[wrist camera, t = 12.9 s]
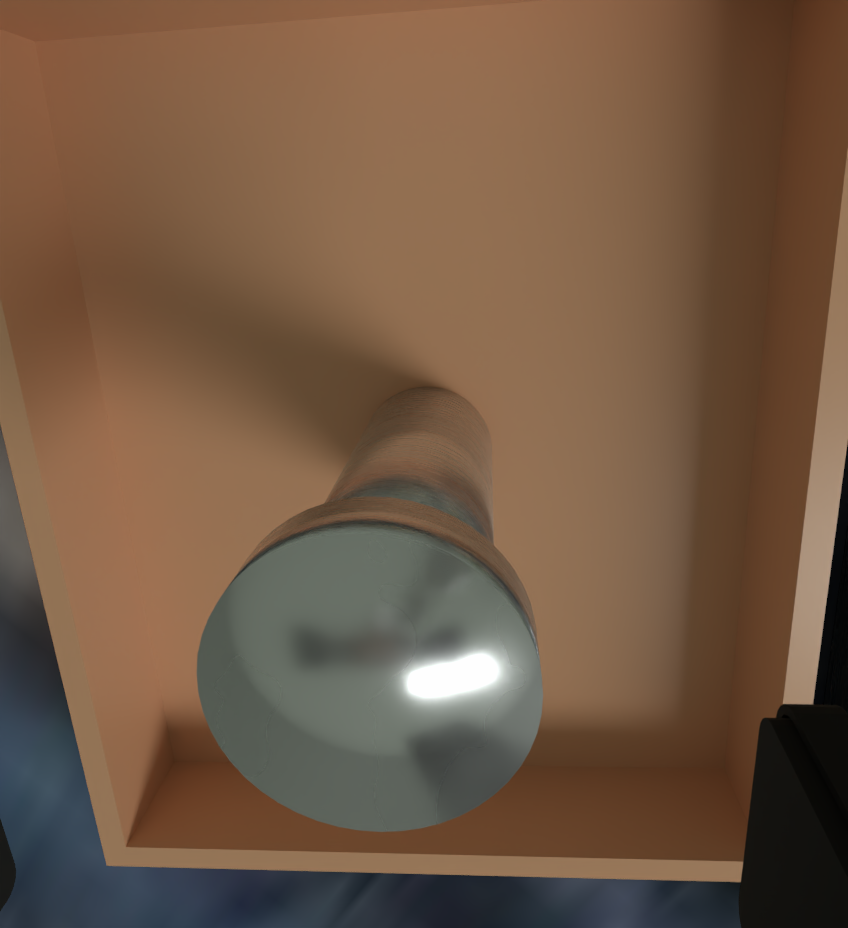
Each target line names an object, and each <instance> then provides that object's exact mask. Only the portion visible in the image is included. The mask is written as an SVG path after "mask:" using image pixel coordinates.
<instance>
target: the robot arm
mask: <svg viewBox="0 0 848 928" xmlns="http://www.w3.org/2000/svg"><path fill="white" fill-rule="evenodd" d="M15 878H16V868H15V863H14V860H13V857H12V854H11V851H10V848H9V844H8V841H7V838H6V835H5V832H4V829H3V826H2V823H1V820H0V911H1V909H2V908H3V906H4V905H5V903H6V902H7V900H8V898H9V897H10V895H11V892H12V889H13V887H14V883H15ZM739 915H740V922H741V928H848V714H847V713H846V712H845V711H844V709H843V708H842V707H840V706H838V705H817V704H783V705H780V707H779V709H778V711H777V715H776V718H763V719H762V721H761V723H760V727H759V735H758V743H757V751H756V760H755V768H754V776H753V785H752V793H751V801H750V810H749V818H748V826H747V835H746V843H745V851H744V860H743V868H742V876H741V885H740V893H739Z"/></svg>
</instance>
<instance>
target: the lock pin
mask: <svg viewBox="0 0 848 928" xmlns="http://www.w3.org/2000/svg"><path fill="white" fill-rule="evenodd" d="M197 684H198V694H199V698H200V702H201V706H202V710H203V713H204V716H205V718H206V721H207V723H208V726H209V728H210V730H211V732H212V734H213V736H214V738H215V739H216V741H217V743H218V745H219V747H220V748H221V749H222V751H223V752H224V753H225V755H226V756H227V758H228V759H229V760H230V762H231V763H232V764H233V765H234V766H235V767H236V768H237V769H238V770H239V772H240V773H241V774H242V775H243V776H244V777H245V778H246V779H247V780H249V781H250V782H251V783H252V784H253V785H254V786H256V787H257V788H258V789H259V790H260V791H262V792H263V793H265V794H266V795H268V796H269V797H270V798H272V799H273V800H275V801H276V802H278V803H280V804H281V805H283V806H285V807H287V808H289V809H291V810H293V811H295V812H297V813H299V814H301V815H304V816H306V817H309V818H311V819H314V820H316V821H320V822H323V823H327V824H330V825H333V826H337V827H342V828H348V829H354V830H361V831H374V832H393V831H406V830H413V829H420V828H424V827H428V826H432V825H436V824H440V823H443V822H446V821H448V820H451V819H454V818H456V817H459V816H461V815H463V814H465V813H467V812H469V811H470V810H472V809H474V808H476V807H478V806H479V805H481V804H482V803H484V802H485V801H486V800H488V799H489V798H491V797H492V796H494V795H495V794H496V793H497V792H498V791H499V790H500V789H501V788H502V787H503V786H504V785H506V784H507V783H508V782H509V780H510V779H511V778H512V777H513V775H514V774H515V773H516V772H517V771H518V769H519V768H520V767H521V765H522V763H523V762H524V760H525V758H526V757H527V755H528V753H529V752H530V750H531V747H532V745H533V742H534V740H535V737H536V735H537V732H538V728H539V724H540V719H541V715H542V703H543V687H542V674H541V666H540V657H539V649H538V640H537V631H536V623H535V619H534V614H533V610H532V606H531V603H530V600H529V598H528V595H527V593H526V590H525V588H524V586H523V584H522V582H521V580H520V579H519V577H518V575H517V573H516V572H515V570H514V569H513V567H512V566H511V565H510V563H509V562H508V561H507V559H506V558H505V557H504V555H503V554H502V553H501V552H500V551H499V550H498V549H497V548H496V547H495V546H494V528H493V477H492V443H491V437H490V432H489V430H488V427H487V424H486V422H485V421H484V419H483V417H482V416H481V414H480V413H479V411H478V410H477V409H476V408H475V407H474V406H473V405H472V404H471V403H470V402H469V401H467V400H466V399H465V398H463V397H462V396H460V395H458V394H456V393H454V392H452V391H449V390H446V389H443V388H438V387H425V386H424V387H415V388H411V389H407V390H404V391H401V392H399V393H397V394H395V395H393V396H392V397H390V398H389V399H387V400H386V401H385V402H384V403H383V404H382V405H381V406H380V407H379V408H378V409H377V410H376V412H375V413H374V414H373V416H372V418H371V419H370V421H369V423H368V425H367V427H366V428H365V430H364V432H363V434H362V436H361V438H360V439H359V441H358V443H357V445H356V447H355V448H354V450H353V452H352V454H351V456H350V457H349V459H348V461H347V463H346V465H345V467H344V468H343V470H342V472H341V474H340V476H339V477H338V479H337V481H336V483H335V485H334V487H333V488H332V490H331V492H330V494H329V496H328V497H327V499H326V501H325V503H324V504H321V505H318V506H315V507H312V508H310V509H307V510H305V511H303V512H301V513H299V514H297V515H295V516H293V517H291V518H289V519H288V520H286V521H285V522H284V523H282V524H281V525H279V526H278V527H276V528H275V529H274V530H273V531H271V532H270V533H269V534H268V535H267V536H266V537H265V538H264V539H263V540H262V541H261V542H260V543H259V544H258V545H257V546H256V548H255V549H254V550H253V552H252V553H251V554H250V555H249V557H248V558H247V559H246V561H245V562H244V564H243V565H242V567H241V568H240V570H239V571H238V573H237V574H236V575H235V577H234V578H233V580H232V581H231V583H230V584H229V586H228V587H227V589H226V590H225V592H224V593H223V594H222V596H221V597H220V599H219V600H218V602H217V604H216V606H215V607H214V609H213V611H212V613H211V614H210V616H209V618H208V620H207V623H206V626H205V628H204V631H203V633H202V636H201V641H200V646H199V650H198V656H197Z"/></svg>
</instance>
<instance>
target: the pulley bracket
mask: <svg viewBox="0 0 848 928" xmlns="http://www.w3.org/2000/svg"><path fill="white" fill-rule="evenodd" d="M823 705H838V706H840V707H842V708H843V709H844V711H845V712H846V713H847V714H848V528H847V536H846V543H845V550H844V558H843V565H842V572H841V579H840V587H839V594H838V601H837V609H836V616H835V623H834V631H833V638H832V645H831V652H830V660H829V667H828V674H827V682H826V689H825V696H824V703H823Z"/></svg>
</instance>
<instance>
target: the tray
mask: <svg viewBox="0 0 848 928" xmlns="http://www.w3.org/2000/svg"><path fill="white" fill-rule="evenodd" d="M424 386H425V387H438V388H443V389H446V390H449V391H452V392H454V393H456V394H458V395H460V396H462V397H463V398H465V399H466V400H467V401H469V402H470V403H471V404H472V405H473V406H474V407H475V408H476V409H477V410H478V411H479V413H480V414H481V416H482V417H483V419H484V421H485V422H486V424H487V427H488V430H489V432H490V437H491V443H492V477H493V528H494V546H495V547H496V548H497V549H498V550H499V551H500V552H501V553H502V554H503V555H504V557H505V558H506V559H507V561H508V562H509V563H510V565H511V566H512V567H513V569H514V570H515V572H516V573H517V575H518V577H519V579H520V580H521V582H522V584H523V586H524V588H525V590H526V593H527V595H528V598H529V600H530V603H531V606H532V610H533V614H534V619H535V623H536V631H537V640H538V649H539V657H540V666H541V674H542V687H543V703H542V715H541V719H540V724H539V728H538V732H537V735H536V737H535V740H534V742H533V745H532V747H531V750H530V752H529V753H528V755H527V757H526V758H525V760H524V762H523V763H522V765H521V767H520V768H519V769H518V771H517V772H516V773H515V774H514V775H513V777H512V778H511V779H510V780H509V782H508V783H507V784H506V785H504V786H503V787H502V788H501V789H500V790H499V791H498V792H497V793H496V794H495V795H494V796H492V797H491V798H489V799H488V800H486V801H485V802H484V803H482V804H481V805H479V806H478V807H476V808H474V809H472V810H470V811H469V812H467V813H465V814H463V815H461V816H459V817H456V818H454V819H451V820H448V821H446V822H443V823H440V824H436V825H432V826H428V827H424V828H420V829H413V830H406V831H393V832H374V831H361V830H354V829H348V828H342V827H337V826H333V825H330V824H327V823H323V822H320V821H316V820H314V819H311V818H309V817H306V816H304V815H301V814H299V813H297V812H295V811H293V810H291V809H289V808H287V807H285V806H283V805H281V804H280V803H278V802H276V801H275V800H273V799H272V798H270V797H269V796H268V795H266V794H265V793H263V792H262V791H260V790H259V789H258V788H257V787H256V786H254V785H253V784H252V783H251V782H250V781H249V780H247V779H246V778H245V777H244V776H243V775H242V774H241V773H240V772H239V770H238V769H237V768H236V767H235V766H234V765H233V764H232V763H231V762H230V760H229V759H228V758H227V756H226V755H225V753H224V752H223V751H222V749H221V748H220V747H219V745H218V743H217V741H216V739H215V738H214V736H213V734H212V732H211V730H210V728H209V726H208V723H207V721H206V718H205V716H204V713H203V710H202V706H201V702H200V698H199V694H198V684H197V656H198V650H199V646H200V641H201V636H202V633H203V631H204V628H205V626H206V623H207V620H208V618H209V616H210V614H211V613H212V611H213V609H214V607H215V606H216V604H217V602H218V600H219V599H220V597H221V596H222V594H223V593H224V592H225V590H226V589H227V587H228V586H229V584H230V583H231V581H232V580H233V578H234V577H235V575H236V574H237V573H238V571H239V570H240V568H241V567H242V565H243V564H244V562H245V561H246V559H247V558H248V557H249V555H250V554H251V553H252V552H253V550H254V549H255V548H256V546H257V545H258V544H259V543H260V542H261V541H262V540H263V539H264V538H265V537H266V536H267V535H268V534H269V533H270V532H271V531H273V530H274V529H275V528H276V527H278V526H279V525H281V524H282V523H284V522H285V521H286V520H288V519H289V518H291V517H293V516H295V515H297V514H299V513H301V512H303V511H305V510H307V509H310V508H312V507H315V506H318V505H321V504H324V503H325V501H326V499H327V497H328V496H329V494H330V492H331V490H332V488H333V487H334V485H335V483H336V481H337V479H338V477H339V476H340V474H341V472H342V470H343V468H344V467H345V465H346V463H347V461H348V459H349V457H350V456H351V454H352V452H353V450H354V448H355V447H356V445H357V443H358V441H359V439H360V438H361V436H362V434H363V432H364V430H365V428H366V427H367V425H368V423H369V421H370V419H371V418H372V416H373V414H374V413H375V412H376V410H377V409H378V408H379V407H380V406H381V405H382V404H383V403H384V402H385V401H386V400H387V399H389V398H390V397H392V396H393V395H395V394H397V393H399V392H401V391H404V390H407V389H411V388H415V387H424ZM0 425H1V429H2V433H3V437H4V441H5V445H6V449H7V454H8V458H9V462H10V466H11V470H12V474H13V478H14V483H15V487H16V491H17V495H18V499H19V503H20V508H21V512H22V516H23V520H24V524H25V528H26V532H27V537H28V541H29V545H30V549H31V553H32V557H33V561H34V566H35V570H36V574H37V578H38V582H39V586H40V591H41V595H42V599H43V603H44V607H45V611H46V615H47V620H48V624H49V628H50V632H51V636H52V640H53V644H54V649H55V653H56V657H57V661H58V665H59V669H60V674H61V678H62V682H63V686H64V690H65V694H66V698H67V703H68V707H69V711H70V715H71V719H72V723H73V727H74V732H75V736H76V740H77V744H78V748H79V752H80V756H81V761H82V765H83V769H84V773H85V777H86V781H87V786H88V790H89V794H90V798H91V802H92V806H93V810H94V815H95V819H96V823H97V827H98V831H99V835H100V839H101V844H102V848H103V852H104V856H105V860H106V864H107V866H136V867H175V868H213V869H252V870H291V871H330V872H369V873H407V874H446V875H485V876H524V877H562V878H601V879H640V880H679V881H717V882H741V876H742V868H743V860H744V851H745V843H746V835H747V826H748V818H749V810H750V801H751V793H752V785H753V776H754V768H755V760H756V751H757V743H758V735H759V727H760V723H761V721H762V719H763V718H776V715H777V711H778V709H779V707H780V705H783V704H813V700H814V693H815V685H816V678H817V670H818V662H819V655H820V647H821V640H822V632H823V624H824V617H825V609H826V602H827V594H828V587H829V579H830V571H831V564H832V556H833V549H834V541H835V534H836V526H837V518H838V511H839V503H840V496H841V488H842V480H843V473H844V465H845V458H846V450H847V443H848V0H0Z"/></svg>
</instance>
